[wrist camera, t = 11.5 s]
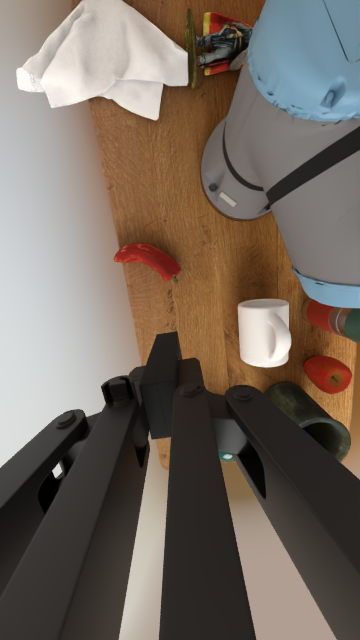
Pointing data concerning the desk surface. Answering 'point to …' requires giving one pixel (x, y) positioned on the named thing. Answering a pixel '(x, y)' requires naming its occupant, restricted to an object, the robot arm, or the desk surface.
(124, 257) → the vegetable
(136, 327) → the desk surface
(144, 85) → the cloth
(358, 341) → the tin top
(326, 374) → the apple
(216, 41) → the figurine
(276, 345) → the mug
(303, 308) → the tin low
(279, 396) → the mug
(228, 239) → the desk surface
